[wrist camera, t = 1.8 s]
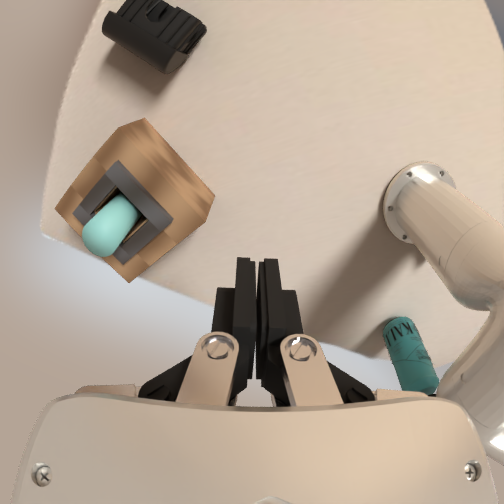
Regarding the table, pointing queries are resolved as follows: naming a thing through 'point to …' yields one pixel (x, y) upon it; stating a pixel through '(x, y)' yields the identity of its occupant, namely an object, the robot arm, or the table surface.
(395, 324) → the beverage bottle
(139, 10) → the end cap
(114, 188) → the socket block
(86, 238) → the peg
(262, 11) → the table surface
